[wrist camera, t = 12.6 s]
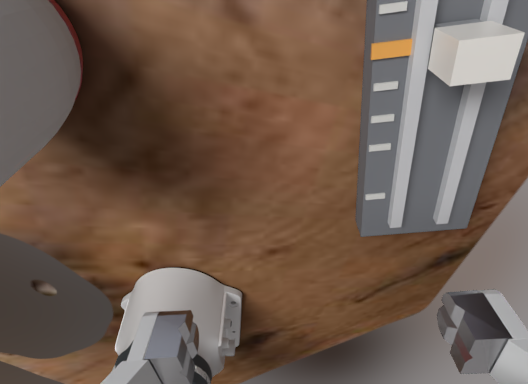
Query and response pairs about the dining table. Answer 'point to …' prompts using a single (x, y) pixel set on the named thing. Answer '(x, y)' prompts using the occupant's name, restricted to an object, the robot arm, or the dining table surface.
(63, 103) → the citrus juicer
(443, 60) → the fader
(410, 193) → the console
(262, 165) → the dining table surface
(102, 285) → the dining table surface
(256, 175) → the dining table surface
